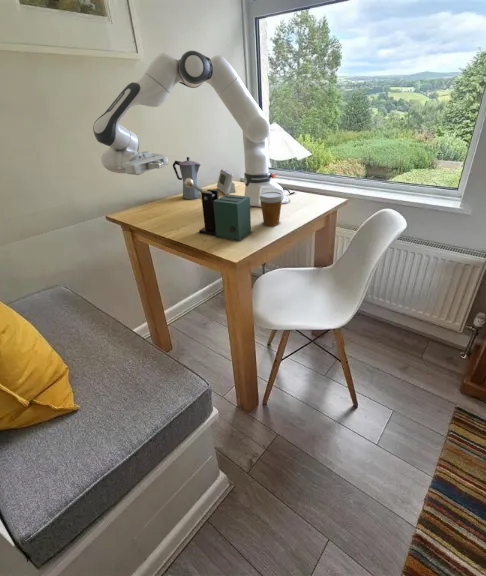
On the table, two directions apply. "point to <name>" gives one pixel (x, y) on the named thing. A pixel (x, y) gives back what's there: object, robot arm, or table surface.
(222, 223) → the toaster
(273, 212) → the disposable coffee cup
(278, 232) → the table surface
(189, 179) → the lever
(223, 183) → the digital clock
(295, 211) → the table surface
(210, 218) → the lever bracket
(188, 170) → the moka pot
